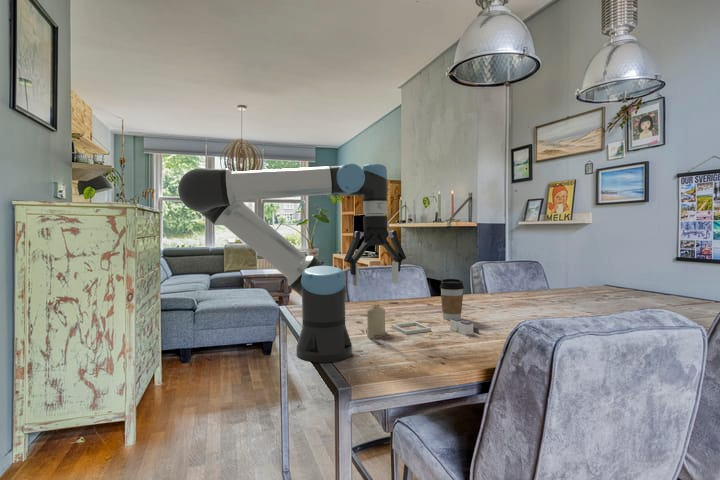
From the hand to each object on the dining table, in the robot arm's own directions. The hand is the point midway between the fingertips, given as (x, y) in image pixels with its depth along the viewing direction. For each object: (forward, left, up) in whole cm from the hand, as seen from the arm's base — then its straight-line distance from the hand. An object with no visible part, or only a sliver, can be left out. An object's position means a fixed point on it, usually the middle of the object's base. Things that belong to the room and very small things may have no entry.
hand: (376, 283), depth 127 cm
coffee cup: (+32, +5, -17) cm, 36 cm away
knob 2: (+24, -13, -15) cm, 31 cm away
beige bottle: (0, 0, -17) cm, 17 cm away
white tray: (+17, -6, -17) cm, 24 cm away
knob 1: (+24, -8, -15) cm, 30 cm away
